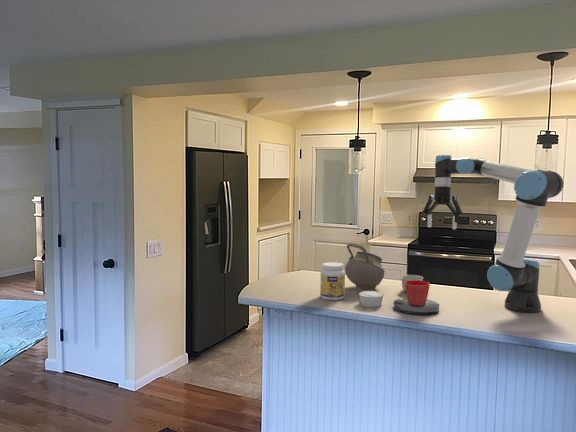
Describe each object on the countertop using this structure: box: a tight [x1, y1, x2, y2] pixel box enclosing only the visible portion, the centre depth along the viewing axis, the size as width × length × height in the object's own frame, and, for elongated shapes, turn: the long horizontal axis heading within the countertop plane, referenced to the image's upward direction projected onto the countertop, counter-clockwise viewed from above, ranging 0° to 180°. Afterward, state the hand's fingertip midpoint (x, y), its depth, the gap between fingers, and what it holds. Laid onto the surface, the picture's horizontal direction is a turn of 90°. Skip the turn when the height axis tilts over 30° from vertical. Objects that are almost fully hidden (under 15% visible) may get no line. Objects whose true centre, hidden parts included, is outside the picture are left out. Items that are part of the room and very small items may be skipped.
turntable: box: [393, 297, 440, 315], centre depth 214 cm, size 20×20×2 cm
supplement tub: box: [319, 261, 346, 301], centre depth 232 cm, size 12×12×17 cm
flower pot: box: [405, 280, 431, 306], centre depth 214 cm, size 11×11×10 cm
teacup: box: [401, 274, 424, 292], centre depth 245 cm, size 14×11×8 cm
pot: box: [344, 242, 386, 292], centre depth 248 cm, size 21×21×25 cm
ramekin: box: [358, 290, 384, 308], centre depth 221 cm, size 11×11×5 cm
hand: (441, 228), depth 237 cm, fingers open, 13 cm apart
